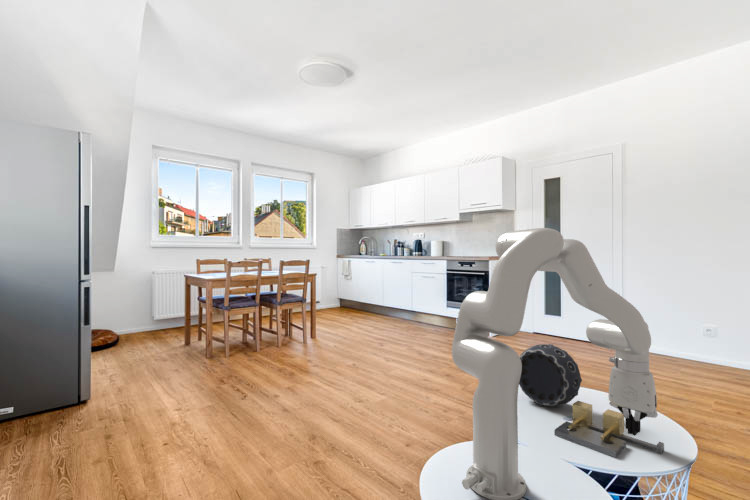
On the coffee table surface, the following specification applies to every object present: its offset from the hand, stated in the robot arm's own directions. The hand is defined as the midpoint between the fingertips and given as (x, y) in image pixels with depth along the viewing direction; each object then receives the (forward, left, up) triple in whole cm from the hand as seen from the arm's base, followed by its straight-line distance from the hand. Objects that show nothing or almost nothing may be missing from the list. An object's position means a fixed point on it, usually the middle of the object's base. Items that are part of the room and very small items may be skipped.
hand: (633, 433), depth 97 cm
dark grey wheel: (+8, +27, -3) cm, 28 cm away
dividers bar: (-4, +4, -3) cm, 6 cm away
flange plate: (-8, +8, -3) cm, 12 cm away
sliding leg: (-3, +5, -1) cm, 6 cm away
